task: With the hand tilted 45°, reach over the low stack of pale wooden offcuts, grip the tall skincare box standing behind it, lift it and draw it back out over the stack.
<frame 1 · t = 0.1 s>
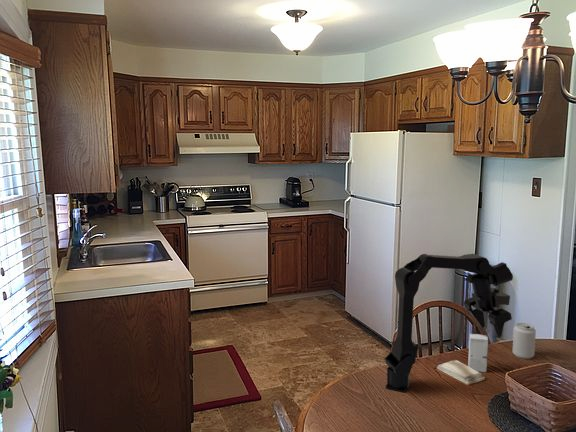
hand: (491, 332, 166), 15 cm above the table, tool pointing down, fingers open, 9 cm apart
skincare box: (477, 369, 172), on the table
can: (523, 356, 182), on the table
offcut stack: (460, 373, 169), on the table
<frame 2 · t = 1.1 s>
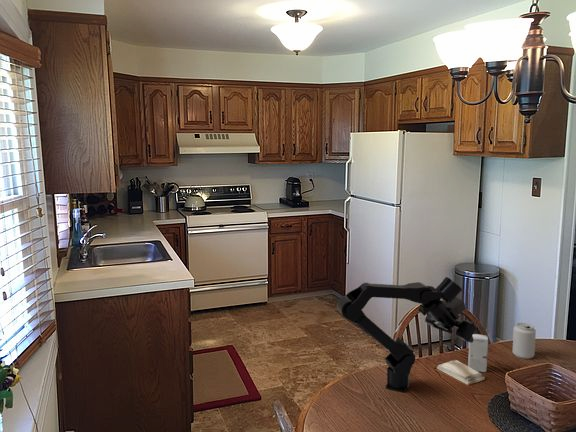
hand: (461, 336, 167), 14 cm above the table, tool tilted 45°, fingers open, 9 cm apart
nothing on the table moved.
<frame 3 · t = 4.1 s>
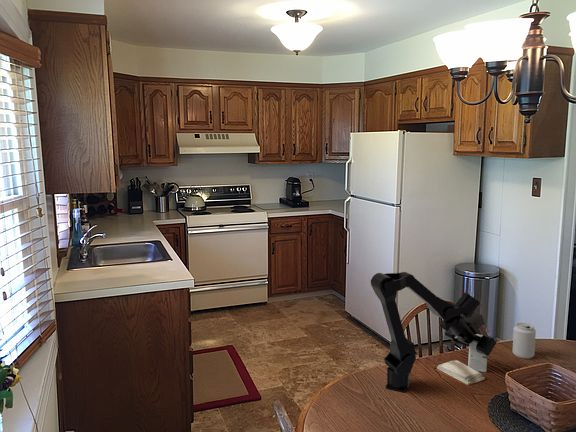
hand: (480, 350, 172), 7 cm above the table, tool tilted 45°, fingers closed on skincare box, 7 cm apart
skincare box: (477, 369, 172), on the table, touching gripper
everything else where it was.
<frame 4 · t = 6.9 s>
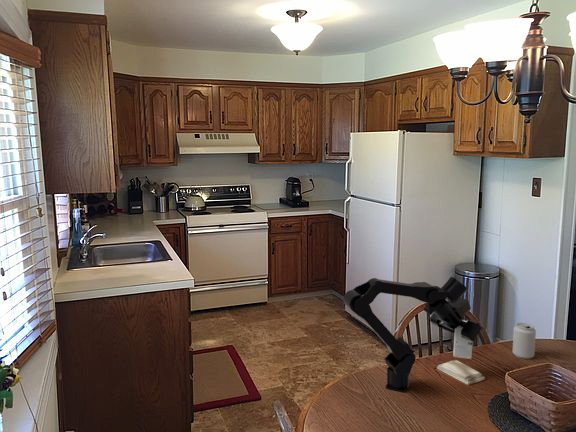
hand: (466, 336, 168), 13 cm above the table, tool tilted 45°, fingers closed on skincare box, 7 cm apart
skincare box: (462, 356, 168), point 6 cm above the table, touching gripper
everything else where it was.
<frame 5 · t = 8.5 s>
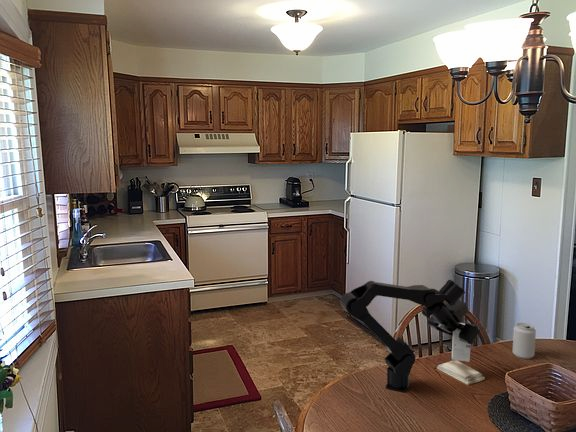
hand: (464, 339, 168), 12 cm above the table, tool tilted 45°, fingers closed on skincare box, 7 cm apart
skincare box: (460, 359, 168), point 5 cm above the table, touching gripper
everything else where it was.
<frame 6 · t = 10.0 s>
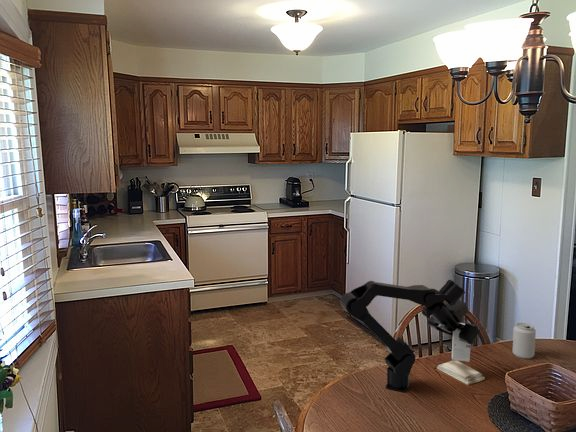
hand: (464, 339, 168), 12 cm above the table, tool tilted 45°, fingers closed on skincare box, 7 cm apart
skincare box: (460, 359, 168), point 5 cm above the table, touching gripper
everything else where it was.
at the end: the gripper is holding skincare box; skincare box inside the target area on the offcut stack (0.1 cm from its centre), point 5.5 cm above the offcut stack's base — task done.
